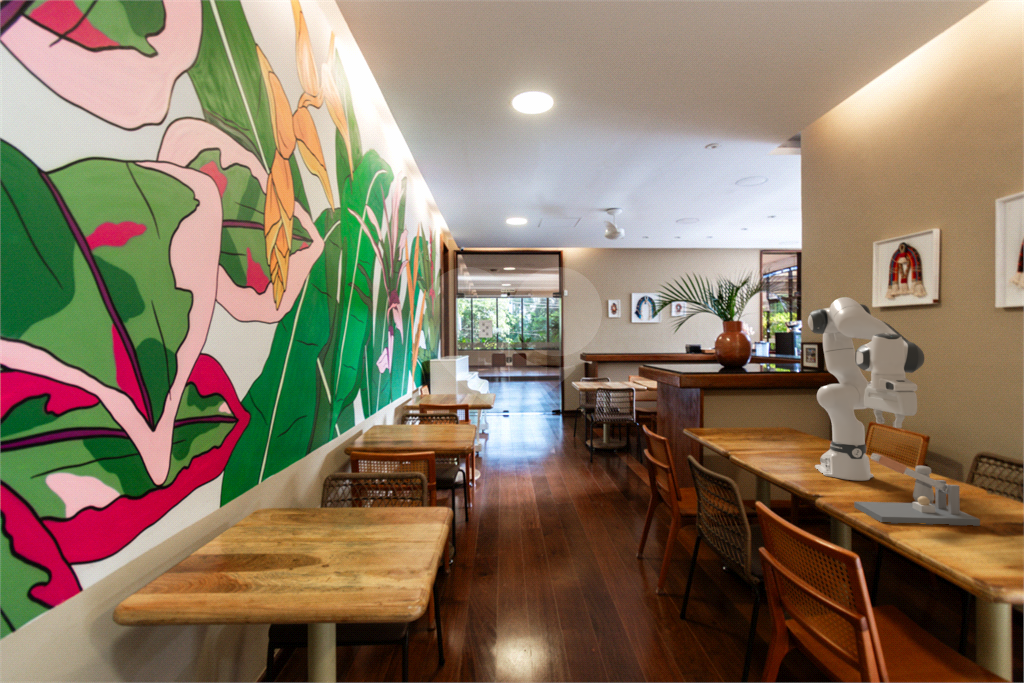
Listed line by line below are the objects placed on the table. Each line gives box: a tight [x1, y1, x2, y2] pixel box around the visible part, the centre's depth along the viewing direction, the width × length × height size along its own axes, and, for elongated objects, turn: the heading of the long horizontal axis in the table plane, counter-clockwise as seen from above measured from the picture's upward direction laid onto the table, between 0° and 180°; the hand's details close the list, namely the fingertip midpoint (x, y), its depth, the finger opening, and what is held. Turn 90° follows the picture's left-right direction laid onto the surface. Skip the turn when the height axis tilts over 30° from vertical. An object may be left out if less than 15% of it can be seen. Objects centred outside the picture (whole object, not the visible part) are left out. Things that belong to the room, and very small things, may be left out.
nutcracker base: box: [853, 479, 981, 527], centre depth 154 cm, size 28×14×11 cm, turn 84°
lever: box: [869, 452, 949, 495], centre depth 154 cm, size 26×4×4 cm, turn 84°
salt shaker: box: [912, 465, 935, 504], centre depth 166 cm, size 6×6×13 cm
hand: (888, 425), depth 155 cm, fingers open, 7 cm apart
